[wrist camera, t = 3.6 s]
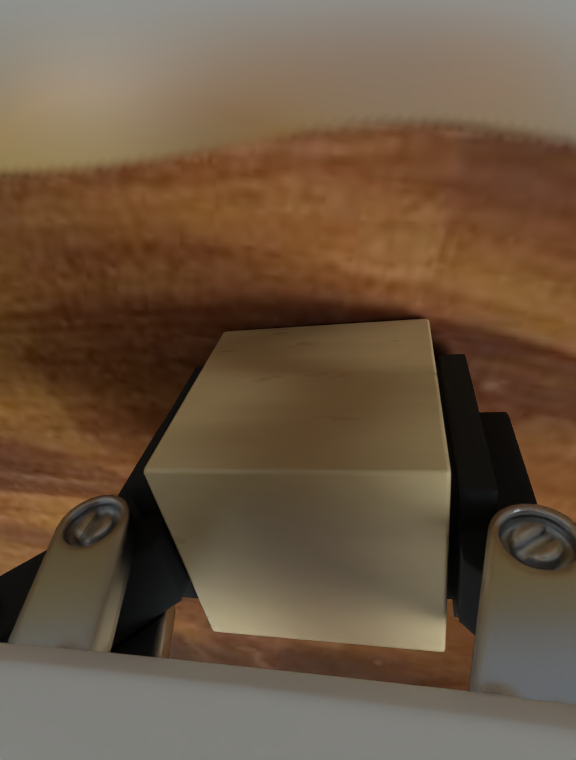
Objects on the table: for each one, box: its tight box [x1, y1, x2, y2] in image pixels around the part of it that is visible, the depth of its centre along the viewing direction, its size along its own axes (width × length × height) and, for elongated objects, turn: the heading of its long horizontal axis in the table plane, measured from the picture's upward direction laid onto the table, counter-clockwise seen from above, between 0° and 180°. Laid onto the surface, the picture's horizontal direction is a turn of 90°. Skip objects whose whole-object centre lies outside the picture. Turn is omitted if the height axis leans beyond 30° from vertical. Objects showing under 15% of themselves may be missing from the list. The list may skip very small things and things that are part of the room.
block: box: [144, 319, 451, 652], centre depth 10 cm, size 4×4×4 cm
